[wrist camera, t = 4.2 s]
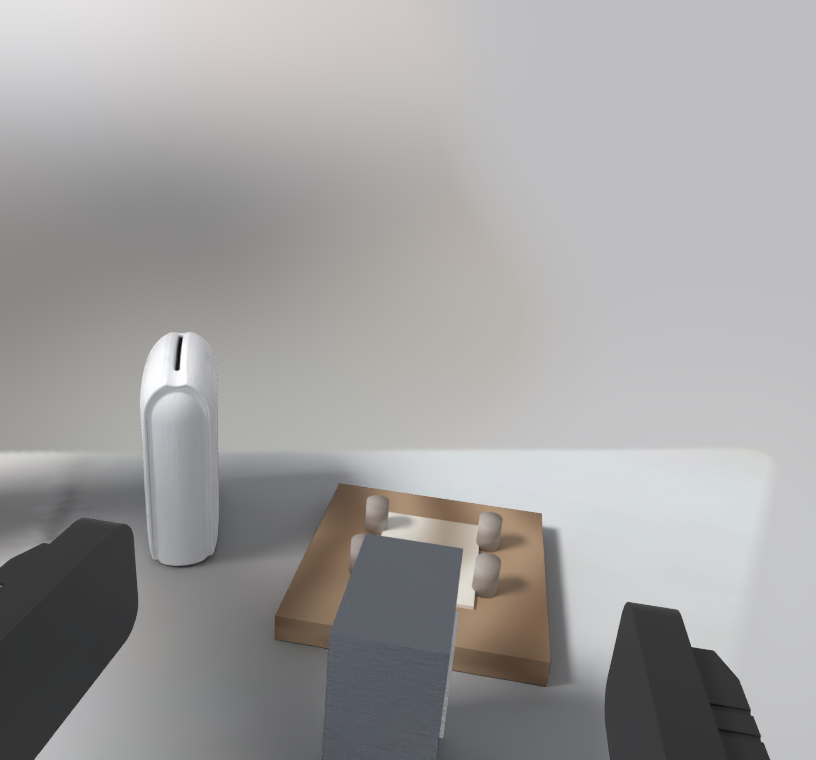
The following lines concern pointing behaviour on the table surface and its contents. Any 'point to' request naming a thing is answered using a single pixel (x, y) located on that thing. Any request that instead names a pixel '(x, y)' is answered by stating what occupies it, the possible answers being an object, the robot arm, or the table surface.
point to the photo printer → (180, 449)
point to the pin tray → (478, 586)
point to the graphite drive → (392, 652)
